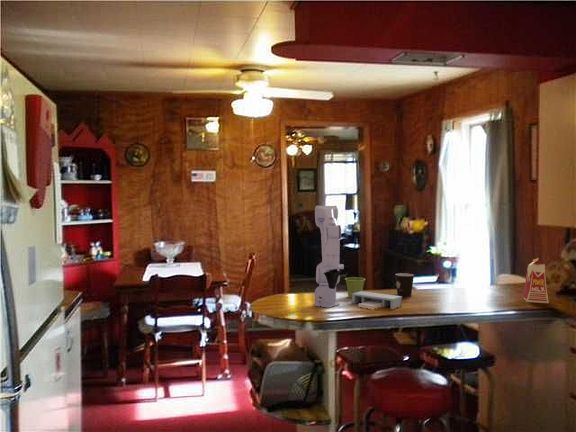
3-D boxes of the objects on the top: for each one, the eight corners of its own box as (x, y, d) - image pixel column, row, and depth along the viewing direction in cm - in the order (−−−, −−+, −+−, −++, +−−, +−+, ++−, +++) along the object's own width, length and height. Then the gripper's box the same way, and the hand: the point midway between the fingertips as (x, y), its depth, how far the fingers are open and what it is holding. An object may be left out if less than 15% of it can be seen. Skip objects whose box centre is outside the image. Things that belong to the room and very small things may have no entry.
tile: (372, 310, 239) (372, 306, 239) (358, 308, 244) (358, 303, 244) (387, 306, 248) (387, 302, 248) (373, 304, 253) (373, 299, 253)
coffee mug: (415, 297, 267) (415, 276, 266) (396, 297, 267) (397, 275, 266) (410, 293, 278) (410, 272, 278) (392, 292, 279) (392, 272, 278)
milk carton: (548, 303, 256) (550, 258, 255) (526, 302, 258) (528, 258, 257) (543, 299, 265) (545, 256, 264) (522, 298, 266) (523, 255, 266)
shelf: (393, 309, 240) (393, 299, 240) (352, 303, 252) (352, 293, 252) (401, 306, 247) (401, 296, 246) (361, 300, 259) (361, 291, 259)
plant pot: (358, 300, 259) (358, 281, 259) (340, 297, 265) (341, 279, 265) (368, 297, 267) (369, 278, 266) (351, 294, 272) (351, 276, 272)
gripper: (330, 257, 223) (330, 292, 223) (350, 254, 234) (349, 287, 235) (315, 256, 227) (315, 290, 228) (335, 253, 239) (335, 285, 239)
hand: (332, 288), depth 232 cm, fingers closed
